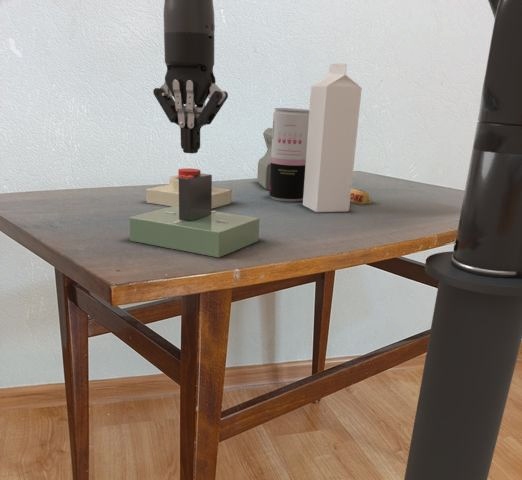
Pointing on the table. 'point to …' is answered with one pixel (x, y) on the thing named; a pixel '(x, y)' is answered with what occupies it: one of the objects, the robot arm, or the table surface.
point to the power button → (188, 172)
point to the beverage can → (288, 154)
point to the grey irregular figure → (265, 161)
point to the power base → (170, 194)
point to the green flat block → (195, 231)
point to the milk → (331, 141)
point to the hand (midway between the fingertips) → (190, 152)
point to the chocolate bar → (359, 197)
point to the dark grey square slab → (195, 196)
